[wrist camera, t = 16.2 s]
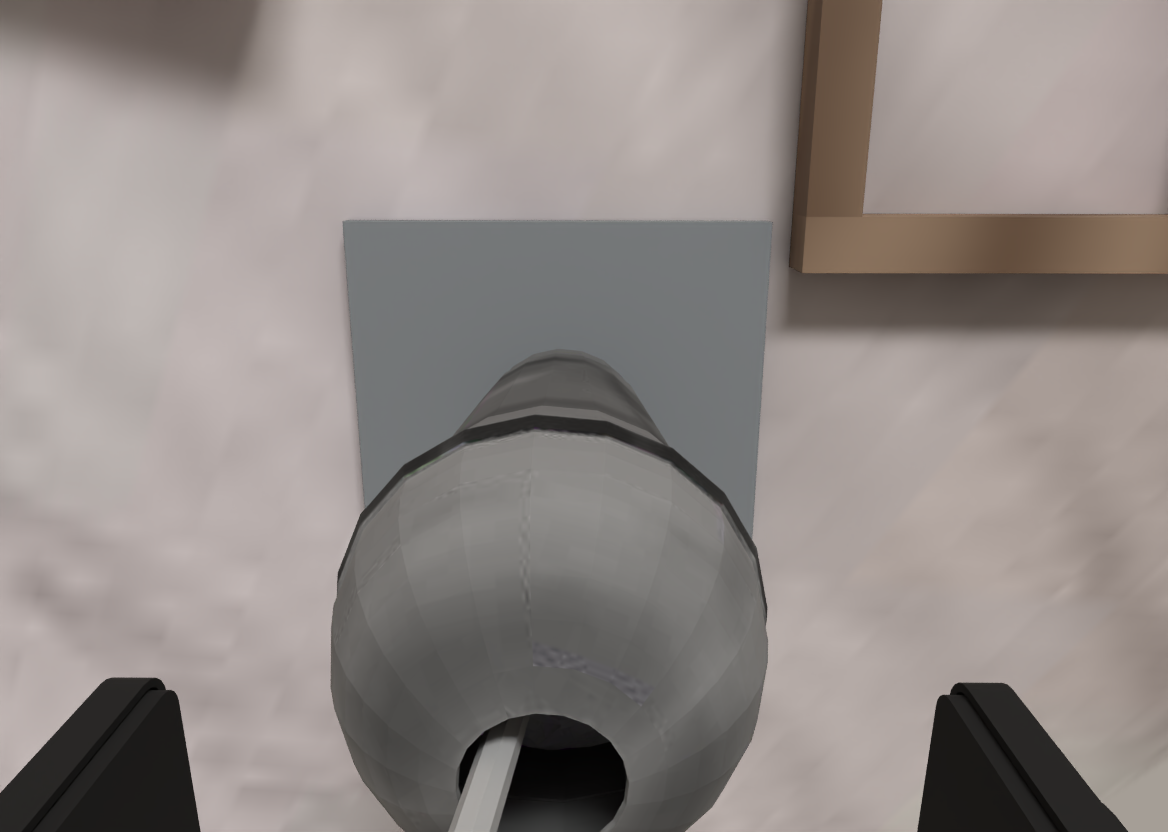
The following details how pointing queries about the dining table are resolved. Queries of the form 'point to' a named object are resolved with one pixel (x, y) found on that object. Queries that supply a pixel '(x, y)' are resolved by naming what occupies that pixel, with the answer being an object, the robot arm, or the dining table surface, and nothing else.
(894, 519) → the dining table surface
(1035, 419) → the dining table surface
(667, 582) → the beverage cup
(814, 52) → the frame
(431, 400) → the slate mat
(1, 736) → the dining table surface
